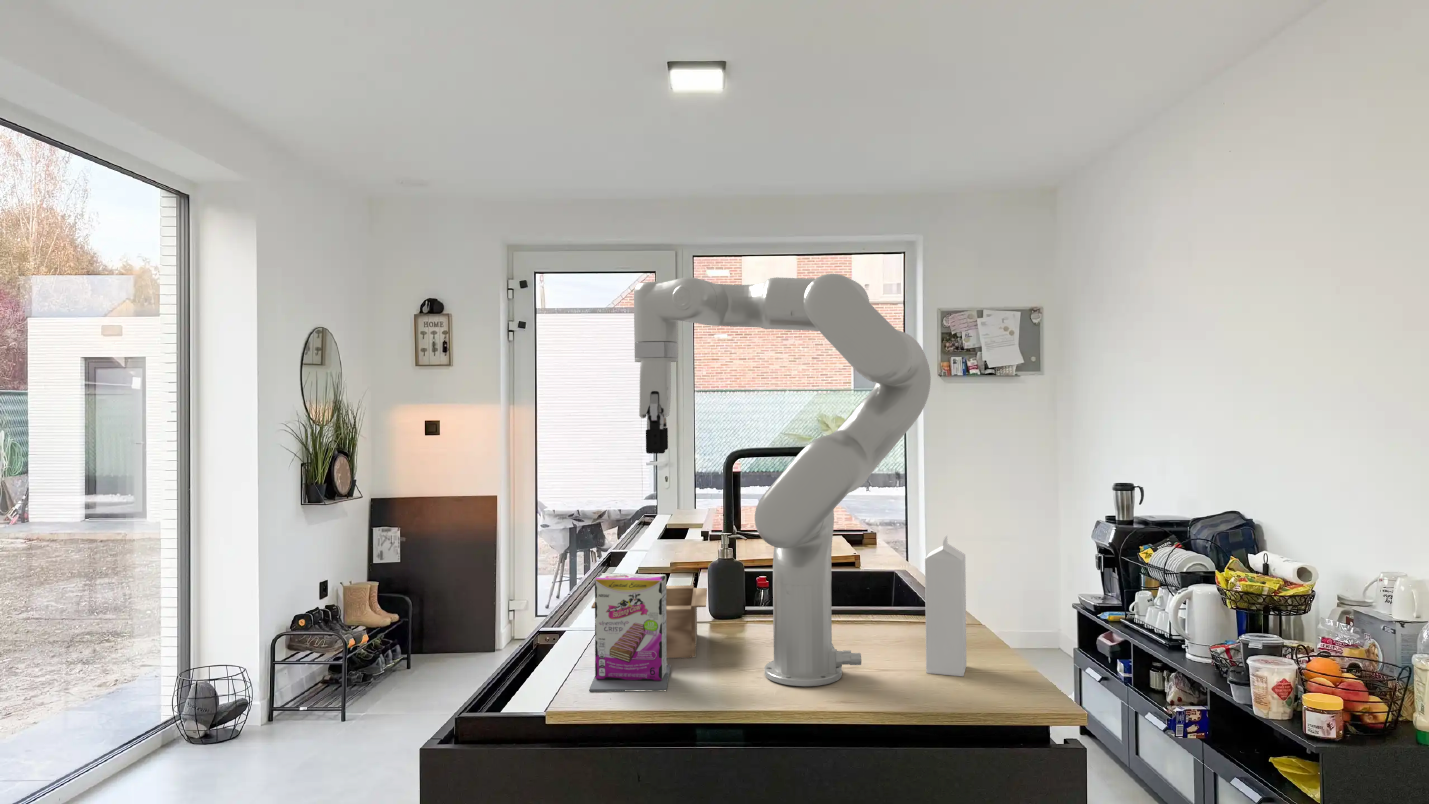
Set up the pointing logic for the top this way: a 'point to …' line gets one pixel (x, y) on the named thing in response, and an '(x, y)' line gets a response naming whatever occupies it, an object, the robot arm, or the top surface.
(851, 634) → the top surface
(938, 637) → the milk
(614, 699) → the top surface
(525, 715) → the top surface
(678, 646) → the open wooden box
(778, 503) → the robot arm
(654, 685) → the mat
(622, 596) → the candy bar box
